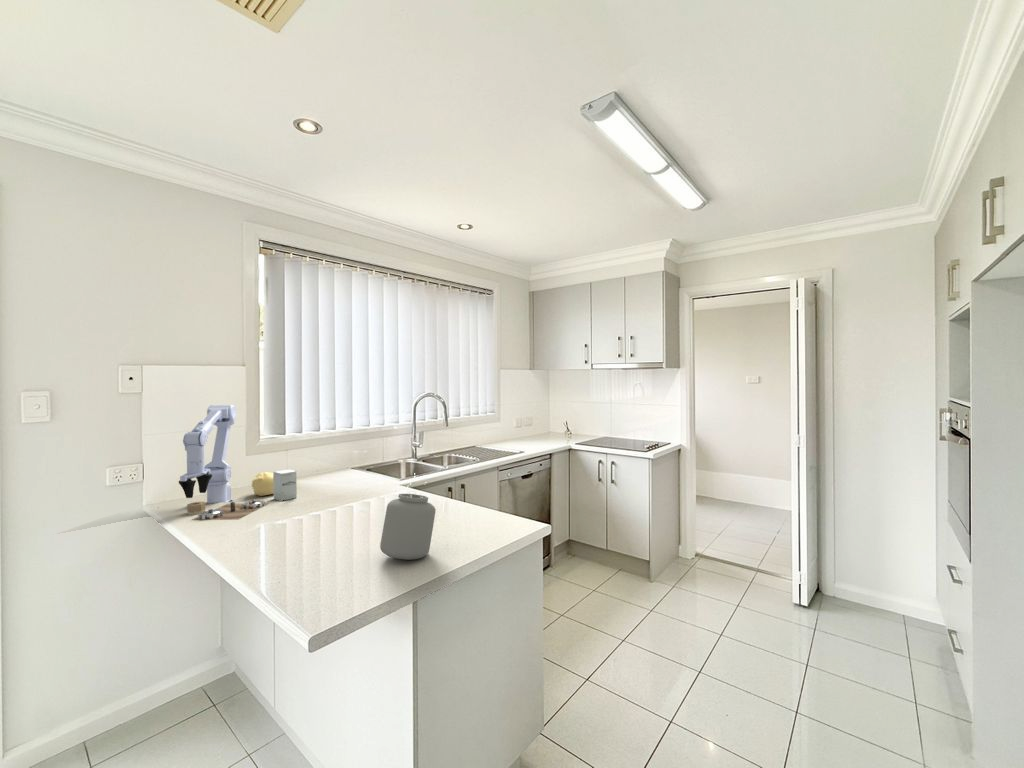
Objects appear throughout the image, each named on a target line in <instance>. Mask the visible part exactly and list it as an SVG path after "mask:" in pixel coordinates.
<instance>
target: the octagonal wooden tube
mask: <svg viewBox="0 0 1024 768" xmlns="http://www.w3.org/2000/svg"><path fill="white" fill-rule="evenodd" d="M186 508H187V509H186V510H187V511H186V512H187V514H188V515H198V513H202V512H203V511H206V502H205V501H194V502H190V503H188V504H187V506H186Z"/></svg>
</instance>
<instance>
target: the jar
mask: <svg viewBox="0 0 1024 768" xmlns="http://www.w3.org/2000/svg"><path fill="white" fill-rule="evenodd" d="M413 478H416V473H415V472H414V475H413ZM416 483H419V481H417V482H416ZM426 483H428V482H427V481H425V484H426ZM409 485H412V482H411V483H409ZM409 485H407V486H406V487H407V490H408V489H409ZM403 492H406V490H404V491H403ZM397 496H398V497H397ZM396 497H397V498H395V499H392V500H391V501H389V502H388V503H387V506H386V509H385V516H384V520H383V527H382V532H381V538H380V543H379V545H380V546H379V549H380V550H381V552H382V553H383V554H384V555H386V556H388V557H390V558H392V559H399V560H420V559H422V558H424V557H425V556H427V555H428V554H429V553H430V549H431V548H430V547H431V543H432V539H433V538H434V537H433V530H434V524H435V523H434V522H435V517H436V507H435V506H434V505H433V504H432V503H430V502H429V497H428V496H425V495H421V494H417V493H415V494H414V493H399V494H398V495H396ZM436 535H437V534H435V536H436Z"/></svg>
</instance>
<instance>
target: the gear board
mask: <svg viewBox="0 0 1024 768" xmlns="http://www.w3.org/2000/svg"><path fill="white" fill-rule="evenodd" d="M269 504H271V503H270V502H268V503H267V502H265V505H264V506H262V507H257V508H255V509H253V508H250V509H246V508H245V509H242V503H236V501H231V502H229V503H227V504H224V505H222V506H220V507H217V508H215V509H214V510H216V509H219V510H223V511H224V515H222V516H220V517H218V518H217V517H215V518H213V519H210V518H209V519H205V520H204V521H224V520H225V521H227V520H228V521H230V520H232V521H233V520H234V521H236V520H240V519H242V518H244V517H246V516H248V515H250V514H252V513H254V512H256V511H257V510H260V509H262V508H264V507H266V506H268V505H269ZM191 521H203V520H202V519H198V516H197V517H195V518H192V519H191Z"/></svg>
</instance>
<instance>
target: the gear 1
mask: <svg viewBox="0 0 1024 768" xmlns="http://www.w3.org/2000/svg"><path fill="white" fill-rule="evenodd" d="M215 509H216V510H215ZM215 509H212V508H210V509H208V510H205V511H203V512H202V513H198V514H197V517H198V519H202V520H201V521H206V520H205V519H209V518H210V519H213V518H215V517H217V518H218V517H220V516H222V515H224V511H223V510H219V509H217V508H215Z"/></svg>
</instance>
